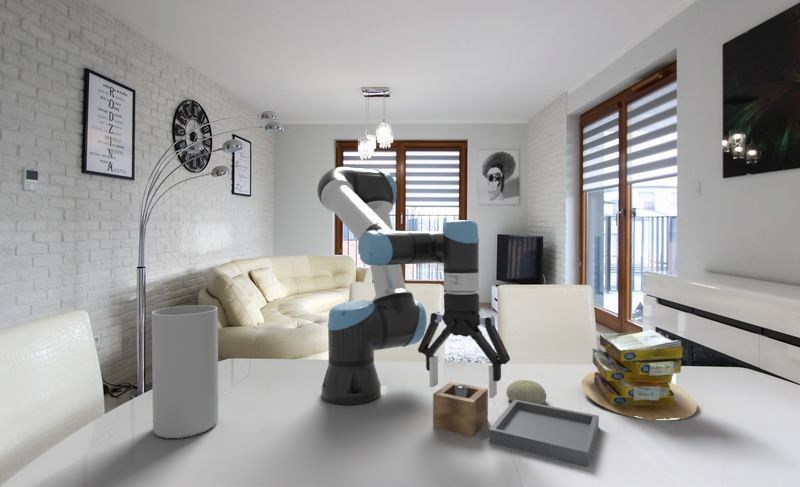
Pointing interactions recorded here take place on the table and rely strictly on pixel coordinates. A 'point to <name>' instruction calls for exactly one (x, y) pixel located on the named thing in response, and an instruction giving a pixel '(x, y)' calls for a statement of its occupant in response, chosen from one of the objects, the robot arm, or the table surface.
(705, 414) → the table surface
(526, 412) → the tray
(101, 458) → the table surface
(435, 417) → the wooden light box
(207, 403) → the cylinder vase
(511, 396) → the sea urchin shell
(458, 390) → the grey rounded cylinder
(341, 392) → the robot arm
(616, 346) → the stack of yellow boxes
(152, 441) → the table surface
